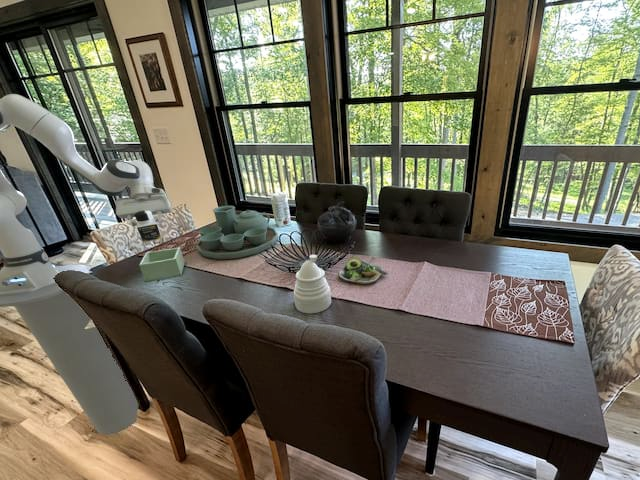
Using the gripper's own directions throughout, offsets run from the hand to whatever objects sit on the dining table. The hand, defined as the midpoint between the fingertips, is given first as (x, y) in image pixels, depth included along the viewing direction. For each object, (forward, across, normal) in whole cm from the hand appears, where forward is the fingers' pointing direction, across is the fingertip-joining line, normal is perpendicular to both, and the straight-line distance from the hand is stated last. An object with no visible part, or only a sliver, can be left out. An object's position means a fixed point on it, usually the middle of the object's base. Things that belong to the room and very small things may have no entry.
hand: (146, 223), depth 132 cm
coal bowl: (+17, +83, +14) cm, 86 cm away
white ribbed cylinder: (-10, +60, +41) cm, 73 cm away
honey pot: (+55, +57, -25) cm, 83 cm away
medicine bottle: (+5, 0, +6) cm, 7 cm away
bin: (+18, +2, +12) cm, 22 cm away
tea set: (+5, +34, +26) cm, 43 cm away
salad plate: (+46, +80, -16) cm, 93 cm away
